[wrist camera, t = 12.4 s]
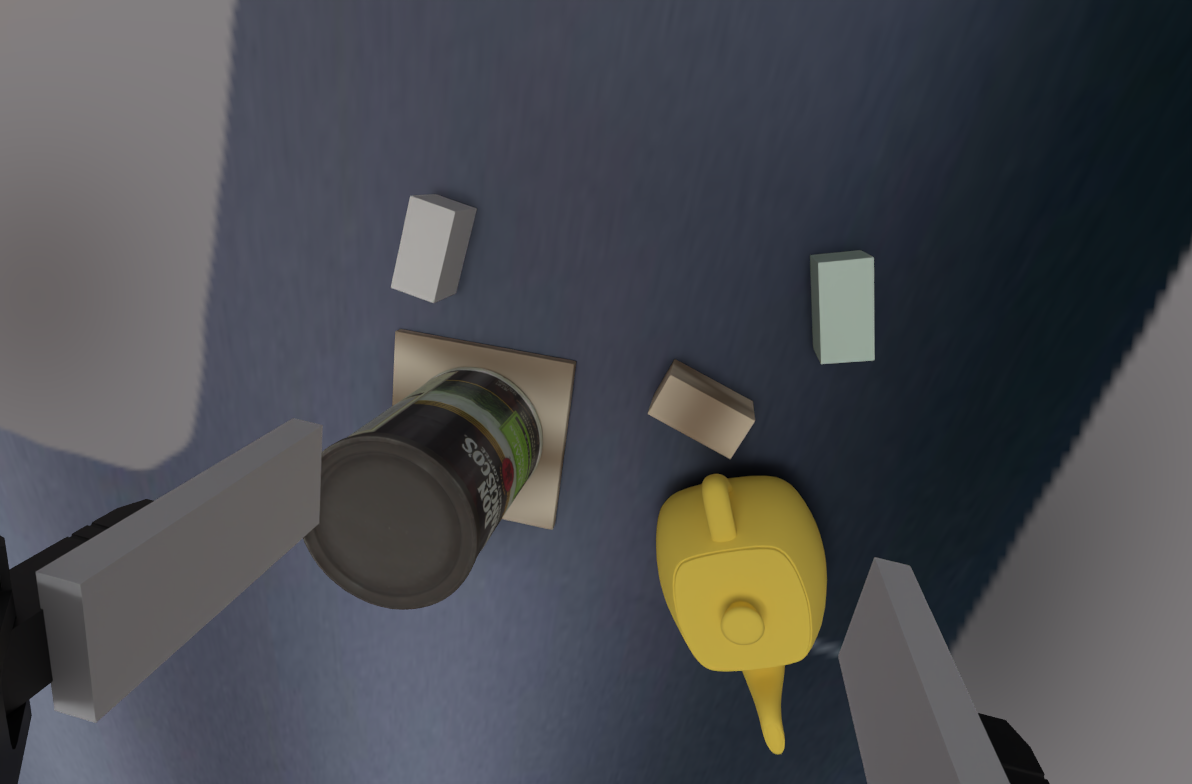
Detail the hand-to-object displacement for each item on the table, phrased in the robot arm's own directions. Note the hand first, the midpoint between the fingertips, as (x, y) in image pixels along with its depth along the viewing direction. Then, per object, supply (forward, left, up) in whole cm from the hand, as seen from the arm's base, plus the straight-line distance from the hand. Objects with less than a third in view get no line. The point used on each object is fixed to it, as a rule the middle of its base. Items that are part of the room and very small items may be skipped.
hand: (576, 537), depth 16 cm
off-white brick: (-1, -16, -31) cm, 35 cm away
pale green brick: (-2, +10, -31) cm, 33 cm away
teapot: (+17, +8, -31) cm, 36 cm away
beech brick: (+6, +3, -31) cm, 32 cm away
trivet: (+12, -12, -31) cm, 35 cm away
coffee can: (+12, -12, -30) cm, 35 cm away
